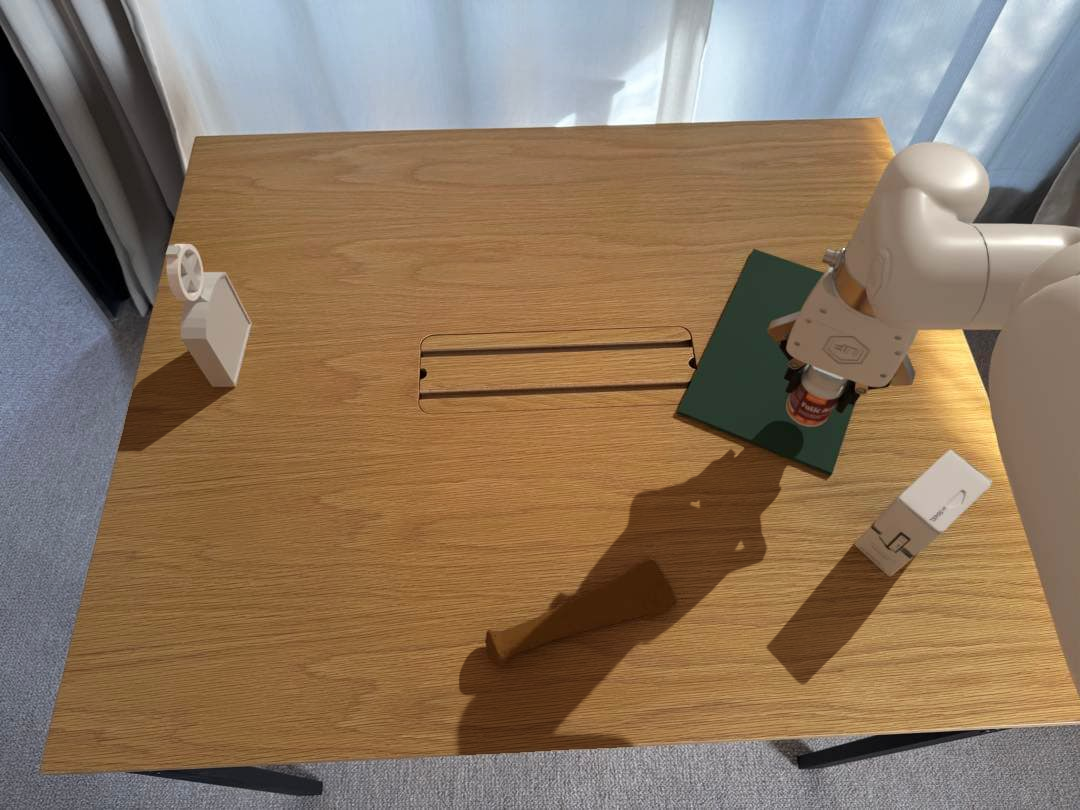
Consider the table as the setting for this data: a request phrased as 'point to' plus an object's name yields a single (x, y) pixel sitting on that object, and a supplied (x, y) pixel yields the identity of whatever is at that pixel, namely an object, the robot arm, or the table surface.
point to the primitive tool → (588, 611)
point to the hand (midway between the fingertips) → (817, 391)
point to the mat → (761, 369)
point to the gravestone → (208, 315)
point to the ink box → (923, 512)
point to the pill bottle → (815, 396)
